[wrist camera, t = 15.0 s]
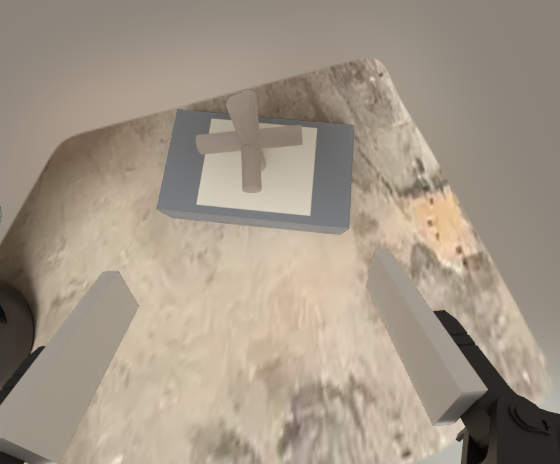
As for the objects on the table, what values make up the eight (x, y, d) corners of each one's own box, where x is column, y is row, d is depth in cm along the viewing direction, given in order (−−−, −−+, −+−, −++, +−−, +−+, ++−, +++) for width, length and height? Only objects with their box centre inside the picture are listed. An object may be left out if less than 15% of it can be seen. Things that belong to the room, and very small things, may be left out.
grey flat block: (172, 217, 31) (155, 208, 27) (189, 128, 34) (176, 108, 30) (340, 234, 31) (349, 227, 27) (345, 143, 33) (354, 124, 29)
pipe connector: (216, 131, 29) (175, 57, 20) (297, 122, 29) (297, 42, 19) (217, 209, 27) (172, 170, 18) (304, 202, 27) (308, 158, 17)
